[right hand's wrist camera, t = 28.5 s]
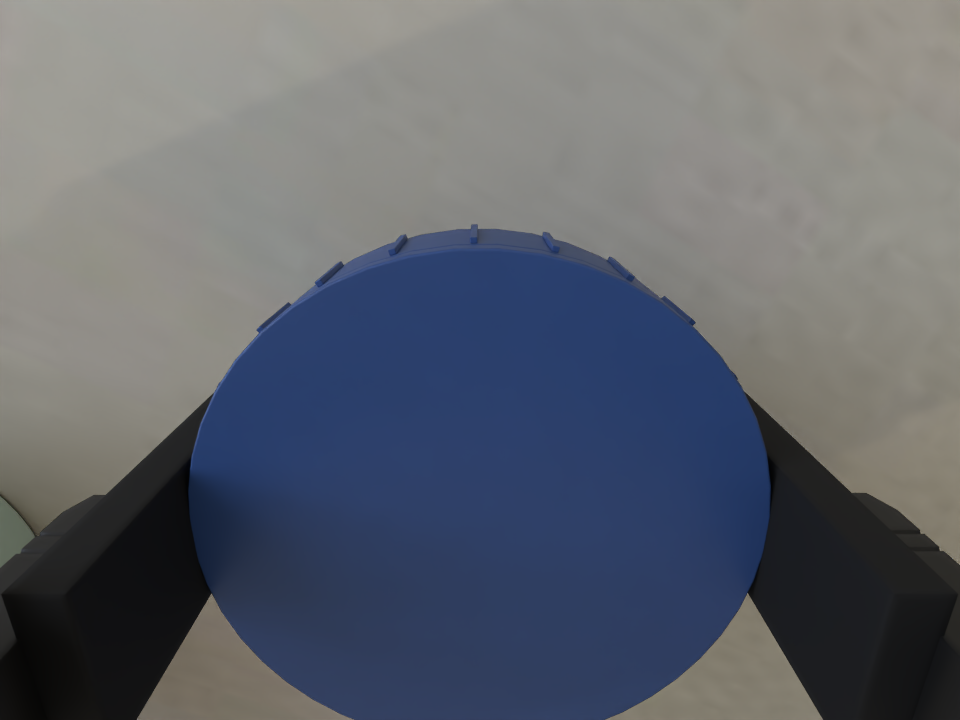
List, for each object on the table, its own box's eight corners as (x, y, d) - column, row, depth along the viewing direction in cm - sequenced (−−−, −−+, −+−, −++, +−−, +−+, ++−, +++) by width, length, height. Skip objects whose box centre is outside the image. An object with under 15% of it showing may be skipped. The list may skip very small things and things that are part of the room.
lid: (316, 691, 14) (290, 779, 12) (153, 287, 11) (80, 319, 9) (740, 623, 13) (785, 705, 11) (705, 169, 10) (761, 176, 8)
